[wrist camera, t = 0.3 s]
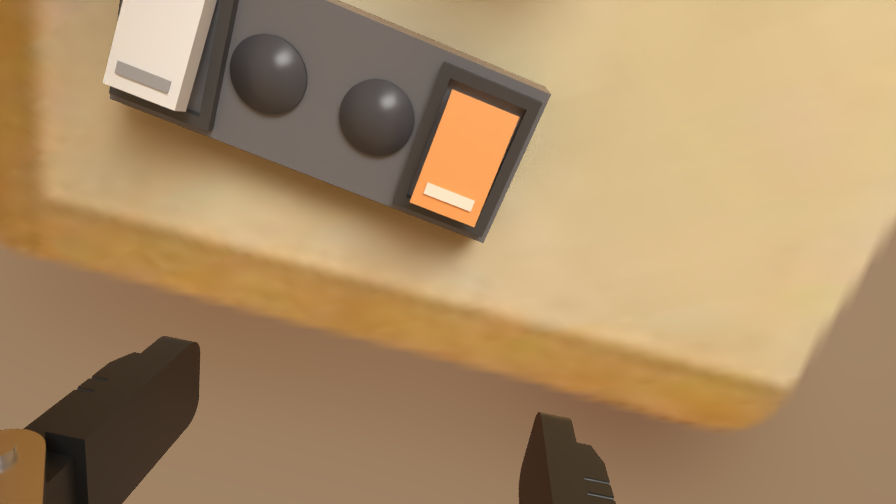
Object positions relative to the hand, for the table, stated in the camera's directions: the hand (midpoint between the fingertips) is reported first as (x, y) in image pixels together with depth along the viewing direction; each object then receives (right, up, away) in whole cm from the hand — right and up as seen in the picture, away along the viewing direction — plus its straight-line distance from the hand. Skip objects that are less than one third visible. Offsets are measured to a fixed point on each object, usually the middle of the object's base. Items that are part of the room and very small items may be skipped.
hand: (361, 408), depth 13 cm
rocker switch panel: (-4, +13, +19) cm, 23 cm away
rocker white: (-12, +14, +14) cm, 23 cm away
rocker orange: (+3, +8, +15) cm, 18 cm away
